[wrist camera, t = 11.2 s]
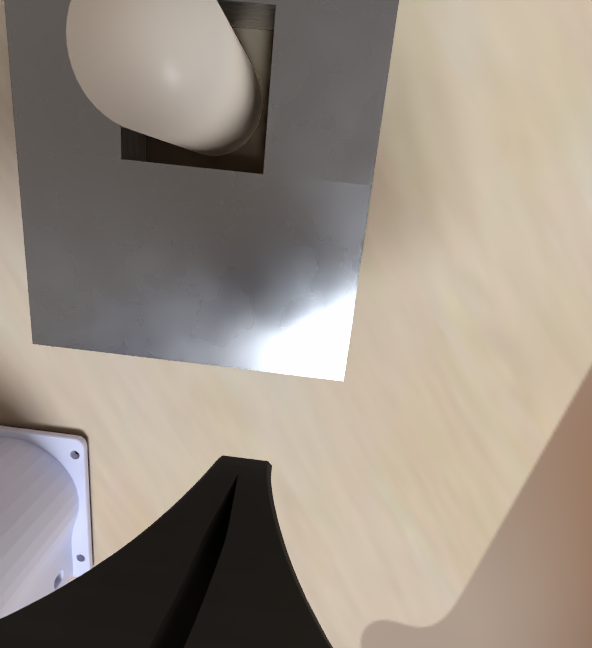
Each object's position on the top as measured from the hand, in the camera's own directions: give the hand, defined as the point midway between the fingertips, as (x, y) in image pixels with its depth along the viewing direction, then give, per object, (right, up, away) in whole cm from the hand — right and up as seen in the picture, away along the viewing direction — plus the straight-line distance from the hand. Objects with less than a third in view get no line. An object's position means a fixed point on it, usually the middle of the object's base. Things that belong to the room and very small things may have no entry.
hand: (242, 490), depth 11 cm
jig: (-2, +12, +7) cm, 14 cm away
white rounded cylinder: (-2, +14, +7) cm, 16 cm away
